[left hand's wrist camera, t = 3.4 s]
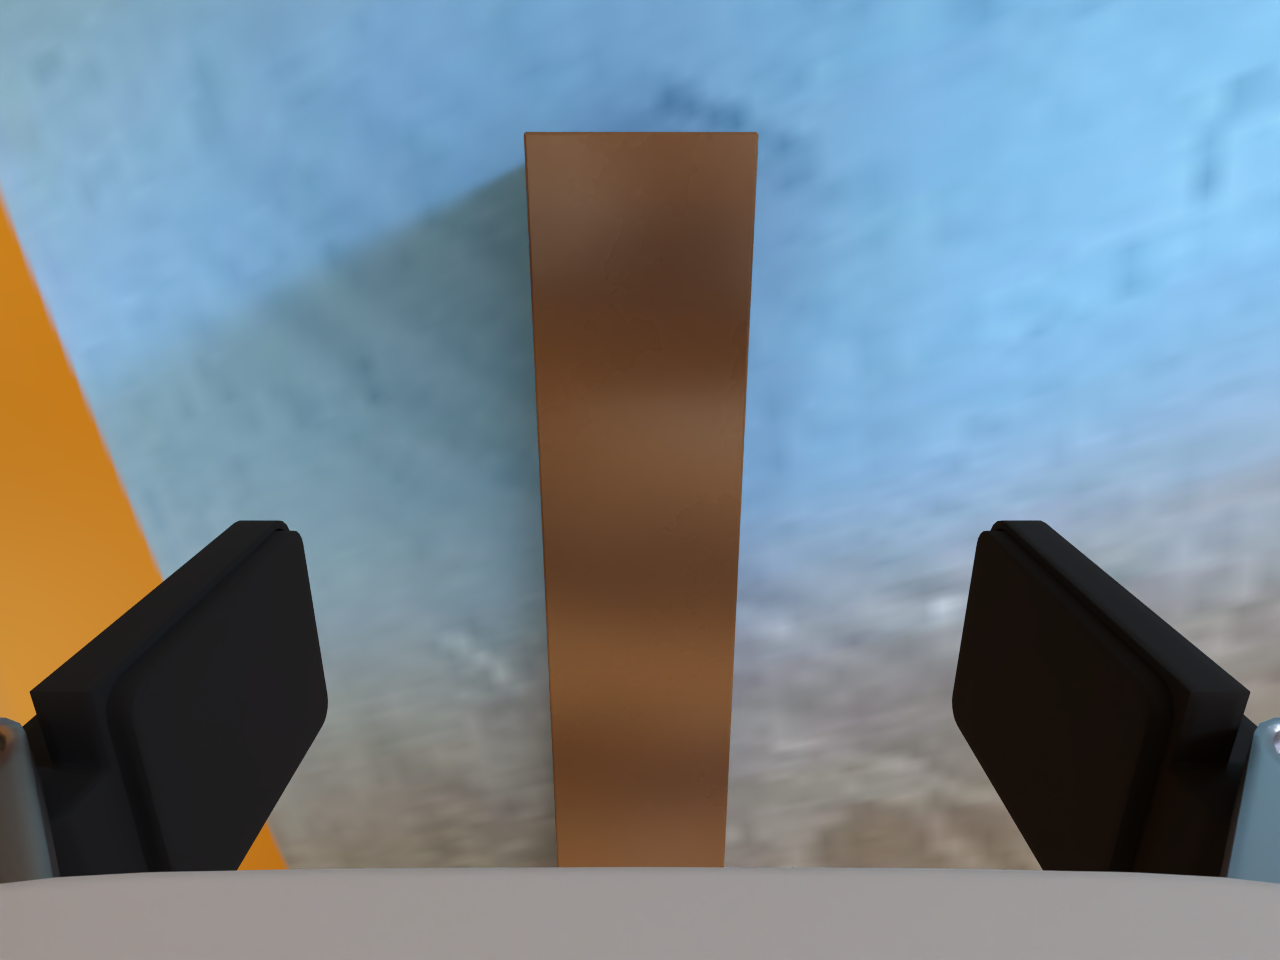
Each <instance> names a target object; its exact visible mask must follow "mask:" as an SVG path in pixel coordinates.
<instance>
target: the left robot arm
mask: <svg viewBox="0 0 1280 960" xmlns="http://www.w3.org/2000/svg"><path fill="white" fill-rule="evenodd" d="M30 695H31V698H32V701H33V704H34V707H35V711H36V714H37V715H35V716H34V717H33V718H32V719H31V720H30V721H29V722H27V723H26V724H25V725H24V726H23V727H22V726H21V724H20V723H18V722H15V721H12V720H10V719H7V718H0V960H1280V718H1273V719H1270V720H1268V721H1265V722H1262V723H1260V724H1259V726H1258V727H1257V726H1256V725H1255V724H1254V723H1253V722H1251V721H1250V720H1249V719H1248V718H1247V717H1246V716H1245V715H1243V714H1244V711H1245V707H1246V704H1247V701H1248V698H1249V695H1250V691H1249V690H1248V689H1246V688H1245V687H1244V686H1243V685H1242V684H1240V683H1239V682H1238V681H1237V680H1235V679H1234V678H1233V677H1232V676H1231V675H1229V674H1228V673H1227V672H1226V671H1225V670H1223V669H1222V668H1221V667H1220V666H1218V665H1217V664H1216V663H1215V662H1214V661H1212V660H1211V659H1210V658H1209V657H1208V656H1206V655H1205V654H1204V653H1203V652H1201V651H1200V650H1199V649H1198V648H1197V647H1195V646H1194V645H1193V644H1192V643H1191V642H1189V641H1188V640H1187V639H1186V638H1184V637H1183V636H1182V635H1181V634H1180V633H1178V632H1177V631H1176V630H1175V629H1174V628H1172V627H1171V626H1170V625H1169V624H1167V623H1166V622H1165V621H1164V620H1163V619H1161V618H1160V617H1159V616H1158V615H1157V614H1155V613H1154V612H1153V611H1152V610H1150V609H1149V608H1148V607H1147V606H1146V605H1144V604H1143V603H1142V602H1141V601H1140V600H1138V599H1137V598H1136V597H1135V596H1133V595H1132V594H1131V593H1130V592H1129V591H1127V590H1126V589H1125V588H1124V587H1123V586H1121V585H1120V584H1119V583H1118V582H1116V581H1115V580H1114V579H1113V578H1112V577H1110V576H1109V575H1108V574H1107V573H1106V572H1104V571H1103V570H1102V569H1101V568H1100V567H1098V566H1097V565H1096V564H1095V563H1093V562H1092V561H1091V560H1090V559H1089V558H1087V557H1086V556H1085V555H1084V554H1083V553H1081V552H1080V551H1079V550H1078V549H1076V548H1075V547H1074V546H1073V545H1072V544H1070V543H1069V542H1068V541H1067V540H1066V539H1064V538H1063V537H1062V536H1061V535H1059V534H1058V533H1057V532H1056V531H1055V530H1053V529H1052V528H1051V527H1050V526H1049V525H1047V524H1046V523H1044V522H1042V521H997V522H996V523H995V524H994V525H993V527H992V529H991V531H983V532H982V533H981V534H980V536H979V538H978V542H977V546H976V552H975V559H974V565H973V571H972V577H971V584H970V590H969V596H968V602H967V609H966V615H965V621H964V627H963V633H962V640H961V646H960V652H959V658H958V665H957V671H956V677H955V683H954V690H953V697H952V708H953V714H954V718H955V721H956V723H957V726H958V727H959V729H960V731H961V732H962V734H963V736H964V737H965V739H966V741H967V742H968V744H969V746H970V748H971V749H972V751H973V753H974V754H975V756H976V758H977V759H978V761H979V763H980V764H981V766H982V768H983V770H984V771H985V773H986V775H987V776H988V778H989V780H990V781H991V783H992V785H993V786H994V788H995V790H996V792H997V793H998V795H999V797H1000V798H1001V800H1002V802H1003V803H1004V805H1005V807H1006V808H1007V810H1008V812H1009V813H1010V815H1011V817H1012V819H1013V820H1014V822H1015V824H1016V825H1017V827H1018V829H1019V830H1020V832H1021V834H1022V835H1023V837H1024V839H1025V841H1026V842H1027V844H1028V846H1029V847H1030V849H1031V851H1032V852H1033V854H1034V856H1035V857H1036V859H1037V861H1038V862H1039V864H1040V866H1041V868H1042V869H1043V871H1038V870H985V869H931V868H751V867H529V868H349V869H295V870H242V871H237V869H238V867H239V866H240V864H241V862H242V861H243V859H244V857H245V856H246V854H247V852H248V851H249V849H250V847H251V846H252V844H253V842H254V841H255V839H256V837H257V835H258V834H259V832H260V830H261V829H262V827H263V825H264V824H265V822H266V820H267V819H268V817H269V815H270V813H271V812H272V810H273V808H274V807H275V805H276V803H277V802H278V800H279V798H280V797H281V795H282V793H283V792H284V790H285V788H286V786H287V785H288V783H289V781H290V780H291V778H292V776H293V775H294V773H295V771H296V770H297V768H298V766H299V764H300V763H301V761H302V759H303V758H304V756H305V754H306V753H307V751H308V749H309V748H310V746H311V744H312V742H313V741H314V739H315V737H316V736H317V734H318V732H319V731H320V729H321V727H322V726H323V723H324V721H325V718H326V714H327V708H328V697H327V690H326V683H325V677H324V671H323V665H322V658H321V652H320V646H319V640H318V633H317V627H316V621H315V615H314V609H313V602H312V596H311V590H310V584H309V577H308V571H307V565H306V559H305V553H304V546H303V542H302V538H301V536H300V534H299V533H298V532H297V531H289V529H288V527H287V525H286V524H285V523H284V522H283V521H238V522H236V523H234V524H233V525H231V526H230V527H229V528H228V529H227V530H225V531H224V532H223V533H222V534H221V535H219V536H218V537H217V538H216V539H214V540H213V541H212V542H211V543H210V544H208V545H207V546H206V547H205V548H204V549H202V550H201V551H200V552H199V553H197V554H196V555H195V556H194V557H193V558H191V559H190V560H189V561H188V562H187V563H185V564H184V565H183V566H182V567H180V568H179V569H178V570H177V571H176V572H174V573H173V574H172V575H171V576H170V577H168V578H167V579H166V580H165V581H164V582H162V583H161V584H160V585H159V586H157V587H156V588H155V589H154V590H153V591H151V592H150V593H149V594H148V595H147V596H145V597H144V598H143V599H142V600H141V601H139V602H138V603H137V604H136V605H134V606H133V607H132V608H131V609H130V610H128V611H127V612H126V613H125V614H123V615H122V616H121V617H120V618H119V619H117V620H116V621H115V622H114V623H113V624H111V625H110V626H109V627H108V628H107V629H105V630H104V631H103V632H102V633H100V634H99V635H98V636H97V637H96V638H94V639H93V640H92V641H91V642H89V643H88V644H87V645H86V646H85V647H83V648H82V649H81V650H80V651H79V652H77V653H76V654H75V655H74V656H72V657H71V658H70V659H69V660H68V661H66V662H65V663H64V664H63V665H62V666H60V667H59V668H58V669H57V670H56V671H54V672H53V673H52V674H51V675H49V676H48V677H47V678H46V679H45V680H43V681H42V682H41V683H40V684H38V685H37V686H36V687H35V688H34V689H32V690H31V691H30Z"/></svg>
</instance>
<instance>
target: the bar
mask: <svg viewBox="0 0 1280 960" xmlns="http://www.w3.org/2000/svg"><path fill="white" fill-rule="evenodd" d="M524 148H525V170H526V191H527V213H528V235H529V256H530V278H531V299H532V321H533V343H534V364H535V386H536V407H537V429H538V451H539V472H540V494H541V515H542V537H543V558H544V580H545V602H546V623H547V645H548V666H549V688H550V710H551V731H552V753H553V774H554V796H555V818H556V839H557V861H558V867H724V854H725V833H726V812H727V791H728V769H729V748H730V727H731V706H732V685H733V664H734V642H735V621H736V600H737V579H738V558H739V537H740V515H741V494H742V473H743V452H744V431H745V410H746V388H747V367H748V346H749V325H750V304H751V283H752V262H753V240H754V219H755V198H756V177H757V156H758V133H757V132H526V133H524Z"/></svg>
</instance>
